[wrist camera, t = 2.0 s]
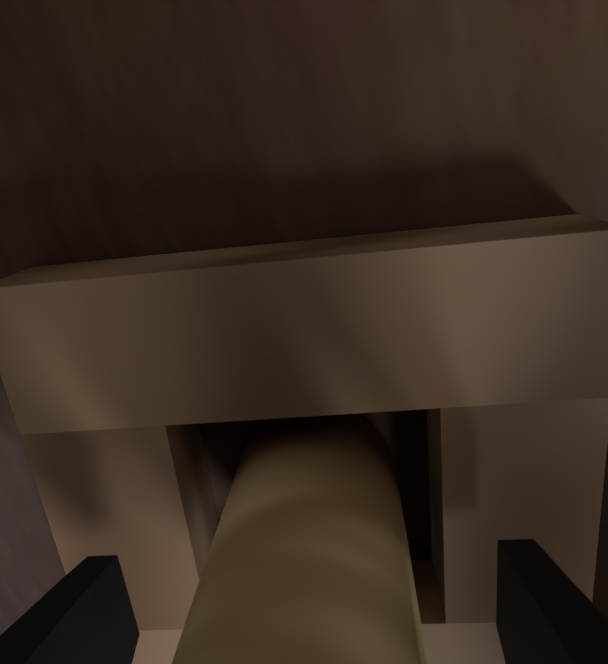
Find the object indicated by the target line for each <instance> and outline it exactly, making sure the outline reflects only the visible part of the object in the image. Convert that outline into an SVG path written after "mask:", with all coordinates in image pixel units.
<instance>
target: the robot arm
mask: <svg viewBox="0 0 608 664" xmlns="http://www.w3.org/2000/svg"><path fill="white" fill-rule="evenodd" d="M496 627H497V631H498V635H499V639H500V643H501V647H502V651H503V655H504V659H505V662H506V664H608V618H607V617H606V616H605V615H604V614H603V613H602V612H601V611H600V610H599V609H598V608H597V607H596V606H595V605H594V604H593V603H592V602H591V601H590V600H589V598H588V597H587V596H586V595H585V594H584V593H583V592H582V591H581V590H580V589H579V588H578V587H577V586H576V585H575V584H574V583H573V581H572V580H571V579H570V578H569V577H568V576H567V575H566V574H565V573H564V572H563V571H562V569H561V568H560V567H559V566H558V565H557V564H556V563H555V562H554V561H553V559H552V558H551V557H550V556H549V555H548V554H547V553H546V552H545V551H544V549H543V548H542V547H541V546H540V545H539V544H538V543H537V542H536V541H535V540H534V539H513V540H498V551H497V606H496ZM139 635H140V633H139V629H138V626H137V622H136V619H135V615H134V612H133V608H132V605H131V601H130V598H129V594H128V591H127V587H126V584H125V580H124V577H123V573H122V570H121V566H120V563H119V559H118V555H106V556H87V557H86V558H85V559H84V560H83V561H82V562H80V563H79V564H78V565H77V566H76V567H75V568H74V569H72V570H71V571H70V572H69V573H68V574H67V575H66V576H65V577H64V578H63V579H61V580H60V581H59V582H58V583H57V584H56V585H55V586H54V587H53V588H52V589H51V590H50V591H48V592H47V593H46V594H45V595H44V596H43V597H42V598H41V599H40V600H39V601H38V602H37V603H36V604H34V605H33V606H32V607H31V608H30V609H29V610H28V611H27V612H26V613H25V614H24V615H22V616H21V617H20V618H19V619H18V620H17V621H16V622H15V623H14V624H13V625H11V626H10V627H9V628H8V629H7V630H6V631H5V632H4V633H3V634H2V635H0V664H132V661H133V657H134V654H135V650H136V646H137V642H138V639H139Z"/></svg>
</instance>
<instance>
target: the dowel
mask: <svg viewBox="0 0 608 664" xmlns="http://www.w3.org/2000/svg"><path fill="white" fill-rule="evenodd" d="M172 664H428V663H427V657H426V651H425V645H424V639H423V632H422V626H421V620H420V614H419V608H418V601H417V595H416V589H415V583H414V577H413V570H412V564H411V558H410V552H409V546H408V539H407V533H406V527H405V521H404V515H403V508H402V502H401V496H400V490H399V484H398V477H397V471H396V465H395V461H394V457H393V454H392V452H391V450H390V447H389V445H388V444H387V442H386V441H385V439H384V438H383V436H382V435H381V434H380V433H379V432H378V431H377V430H376V429H375V428H374V427H373V426H372V425H371V424H370V423H368V422H367V421H365V420H364V419H362V418H361V417H359V416H357V415H355V414H341V415H325V416H310V417H294V418H278V419H267V420H266V421H265V422H263V423H262V424H261V425H260V426H259V427H258V428H257V429H256V430H255V431H254V432H253V434H252V435H251V436H250V437H249V439H248V441H247V443H246V445H245V447H244V450H243V452H242V455H241V458H240V461H239V464H238V467H237V470H236V473H235V476H234V479H233V482H232V485H231V488H230V491H229V494H228V497H227V500H226V503H225V506H224V509H223V512H222V515H221V518H220V521H219V524H218V527H217V530H216V533H215V536H214V539H213V542H212V544H211V547H210V550H209V553H208V556H207V559H206V562H205V565H204V568H203V571H202V574H201V577H200V580H199V583H198V586H197V589H196V592H195V595H194V598H193V601H192V604H191V607H190V610H189V613H188V616H187V619H186V622H185V625H184V628H183V631H182V634H181V637H180V640H179V643H178V646H177V649H176V652H175V655H174V658H173V661H172Z"/></svg>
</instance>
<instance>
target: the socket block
mask: <svg viewBox="0 0 608 664" xmlns="http://www.w3.org/2000/svg"><path fill="white" fill-rule="evenodd" d="M0 375H1V379H2V382H3V385H4V388H5V391H6V394H7V397H8V400H9V403H10V406H11V409H12V412H13V415H14V418H15V421H16V424H17V427H18V430H19V433H20V436H21V439H22V443H23V446H24V449H25V452H26V455H27V458H28V461H29V464H30V467H31V470H32V473H33V476H34V479H35V482H36V485H37V488H38V491H39V494H40V497H41V500H42V503H43V506H44V510H45V513H46V516H47V519H48V522H49V525H50V528H51V531H52V534H53V537H54V540H55V543H56V546H57V549H58V552H59V555H60V558H61V561H62V564H63V567H64V570H65V574H66V575H67V574H68V573H69V572H70V571H71V570H72V569H74V568H75V567H76V566H77V565H78V564H79V563H80V562H82V561H83V560H84V559H85V558H86V557H87V556H106V555H118V559H119V563H120V566H121V570H122V573H123V577H124V580H125V584H126V587H127V591H128V594H129V598H130V601H131V605H132V608H133V612H134V615H135V619H136V622H137V626H138V629H139V633H140V635H139V639H138V642H137V646H136V650H135V654H134V657H133V661H132V664H172V661H173V658H174V655H175V652H176V649H177V646H178V643H179V640H180V637H181V634H182V631H183V628H184V625H185V622H186V619H187V616H188V613H189V610H190V607H191V604H192V601H193V598H194V595H195V592H196V589H197V586H198V583H199V580H200V577H201V574H202V571H203V568H204V565H205V562H206V559H207V556H208V553H209V550H210V547H211V544H212V542H213V539H214V536H215V533H216V530H217V527H218V524H219V523H218V517H217V512H216V507H215V502H214V497H213V492H212V487H211V482H210V477H209V472H208V467H207V462H206V457H205V452H204V447H203V442H202V437H201V431H200V426H199V423H214V422H230V421H246V420H262V419H278V418H294V417H310V416H325V415H341V414H357V413H373V412H389V411H405V410H421V409H427V435H428V464H429V493H430V522H431V551H432V559H425V560H411V564H412V570H413V577H414V583H415V589H416V595H417V601H418V608H419V614H420V620H421V626H422V632H423V639H424V645H425V651H426V657H427V663H428V664H506V662H505V659H504V655H503V651H502V647H501V643H500V639H499V635H498V631H497V627H496V606H497V551H498V540H513V539H534V540H535V541H536V542H537V543H538V544H539V545H540V546H541V547H542V548H543V549H544V551H545V552H546V553H547V554H548V555H549V556H550V557H551V558H552V559H553V561H554V562H555V563H556V564H557V565H558V566H559V567H560V568H561V569H562V571H563V572H564V573H565V574H566V575H567V576H568V577H569V578H570V579H571V580H572V581H573V583H574V584H575V585H576V586H577V587H578V588H579V589H580V590H581V591H582V592H583V593H584V594H585V595H586V596H587V597H588V598H589V600H590V601H591V602H592V600H593V590H594V579H595V569H596V558H597V548H598V538H599V527H600V517H601V506H602V496H603V485H604V475H605V465H606V454H607V444H608V222H605V221H601V220H598V219H594V218H591V217H587V216H584V215H580V214H571V215H561V216H550V217H540V218H530V219H519V220H509V221H499V222H489V223H478V224H468V225H458V226H448V227H437V228H427V229H417V230H406V231H396V232H386V233H376V234H365V235H355V236H345V237H334V238H324V239H314V240H304V241H293V242H283V243H273V244H262V245H252V246H242V247H232V248H221V249H211V250H201V251H190V252H180V253H170V254H160V255H149V256H139V257H129V258H118V259H108V260H98V261H88V262H77V263H67V264H57V265H46V266H36V267H29V268H27V269H24V270H22V271H19V272H17V273H14V274H12V275H9V276H6V277H4V278H1V279H0Z"/></svg>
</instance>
